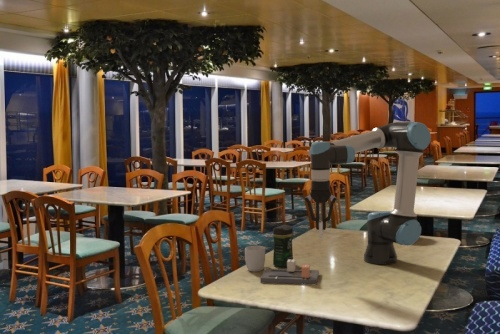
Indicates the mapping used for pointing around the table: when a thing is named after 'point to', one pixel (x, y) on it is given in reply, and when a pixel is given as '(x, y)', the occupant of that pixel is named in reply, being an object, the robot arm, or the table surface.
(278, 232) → the coffee jar
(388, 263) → the robot arm
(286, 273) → the board
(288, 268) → the block
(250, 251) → the mug
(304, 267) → the fader near
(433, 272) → the table surface
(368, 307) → the table surface
